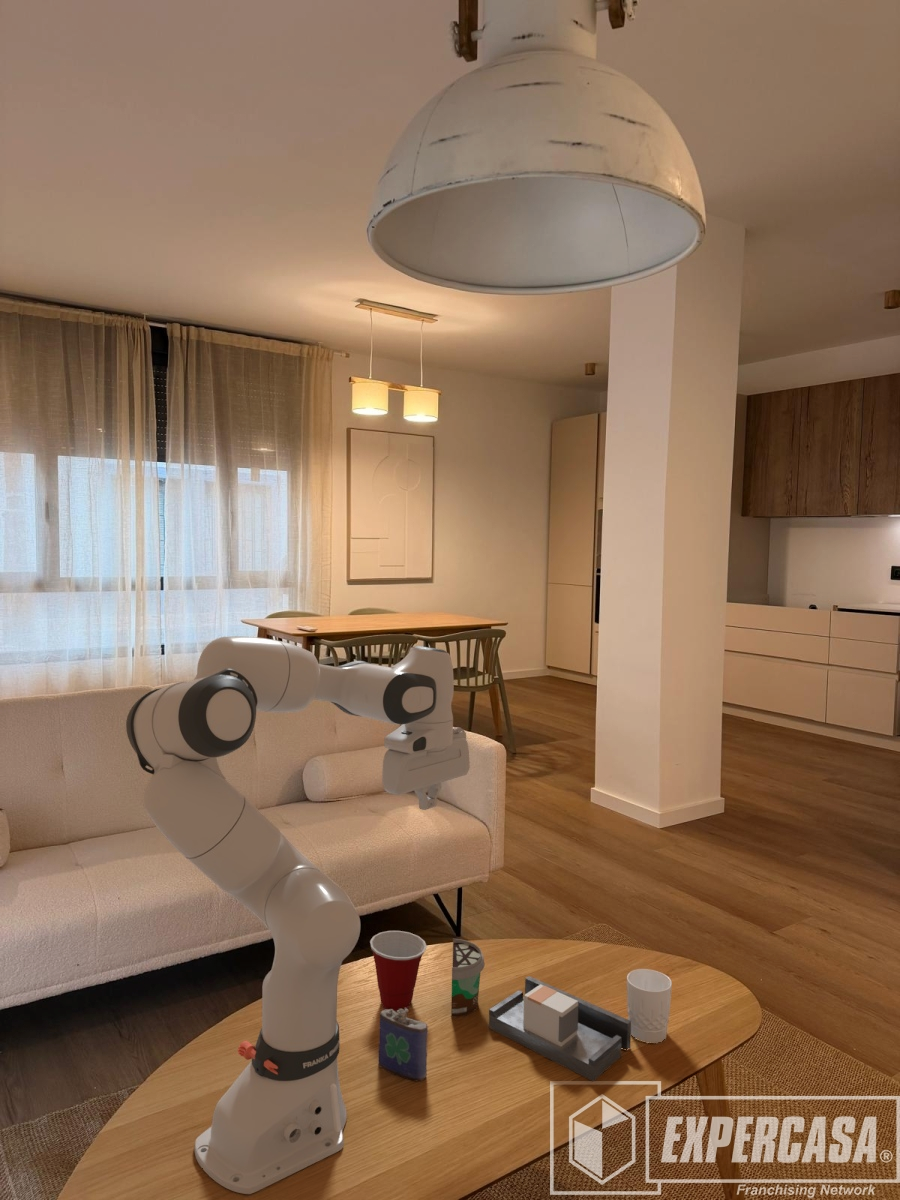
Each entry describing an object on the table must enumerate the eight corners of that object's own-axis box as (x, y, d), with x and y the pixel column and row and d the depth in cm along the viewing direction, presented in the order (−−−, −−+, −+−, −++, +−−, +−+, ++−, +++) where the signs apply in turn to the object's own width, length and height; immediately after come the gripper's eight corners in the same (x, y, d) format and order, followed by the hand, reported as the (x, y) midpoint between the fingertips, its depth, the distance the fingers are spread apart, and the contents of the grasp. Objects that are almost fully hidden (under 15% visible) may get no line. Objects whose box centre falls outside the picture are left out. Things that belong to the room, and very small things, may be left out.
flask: (429, 1075, 135) (430, 1013, 134) (419, 1085, 133) (420, 1022, 132) (383, 1057, 140) (384, 996, 139) (373, 1066, 137) (374, 1004, 137)
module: (561, 1047, 139) (562, 1012, 139) (523, 1028, 145) (523, 995, 144) (577, 1034, 143) (578, 1000, 143) (539, 1016, 149) (540, 983, 148)
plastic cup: (424, 1019, 151) (425, 956, 150) (366, 1018, 151) (367, 955, 150) (426, 988, 162) (427, 929, 161) (372, 987, 162) (372, 928, 161)
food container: (484, 1022, 151) (485, 970, 150) (451, 1021, 151) (452, 969, 150) (483, 987, 163) (484, 938, 162) (452, 986, 163) (453, 937, 162)
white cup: (668, 1050, 143) (670, 995, 143) (622, 1040, 146) (624, 986, 145) (671, 1025, 151) (673, 973, 150) (627, 1017, 153) (629, 965, 153)
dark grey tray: (593, 1081, 134) (594, 1052, 134) (488, 1028, 149) (489, 1001, 149) (630, 1048, 143) (631, 1021, 143) (528, 1001, 158) (529, 976, 158)
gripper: (453, 722, 160) (451, 792, 161) (377, 739, 145) (376, 816, 146) (478, 728, 156) (476, 799, 157) (402, 746, 141) (401, 825, 141)
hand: (427, 807), depth 151 cm, fingers closed
